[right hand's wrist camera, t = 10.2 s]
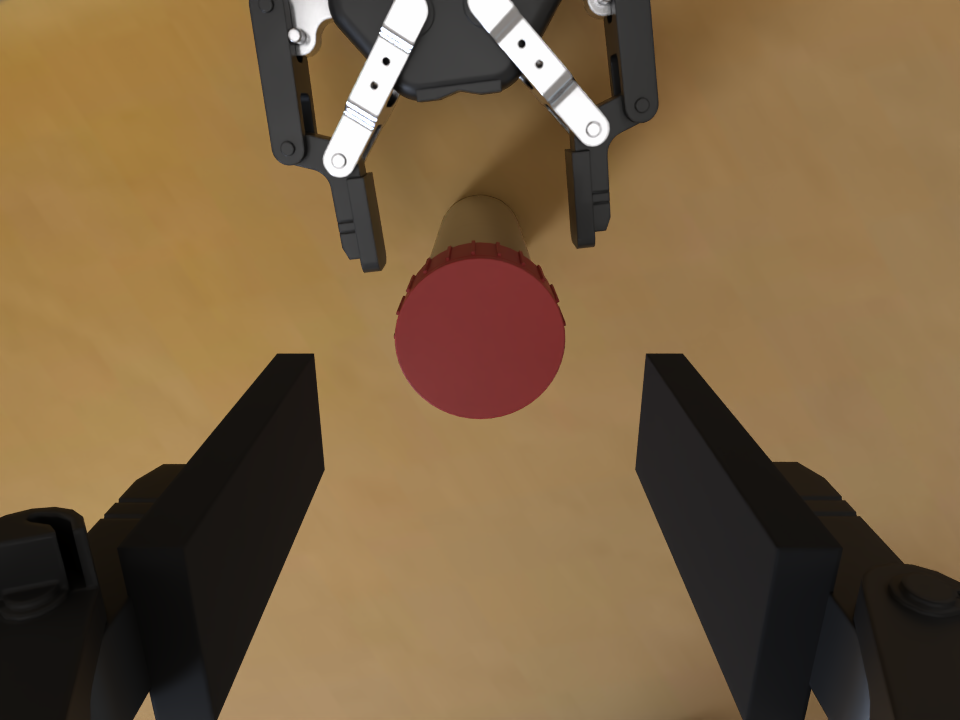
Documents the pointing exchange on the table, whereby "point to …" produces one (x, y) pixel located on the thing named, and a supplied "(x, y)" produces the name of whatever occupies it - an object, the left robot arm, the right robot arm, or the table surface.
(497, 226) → the bottle
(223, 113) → the table surface
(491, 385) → the lid
